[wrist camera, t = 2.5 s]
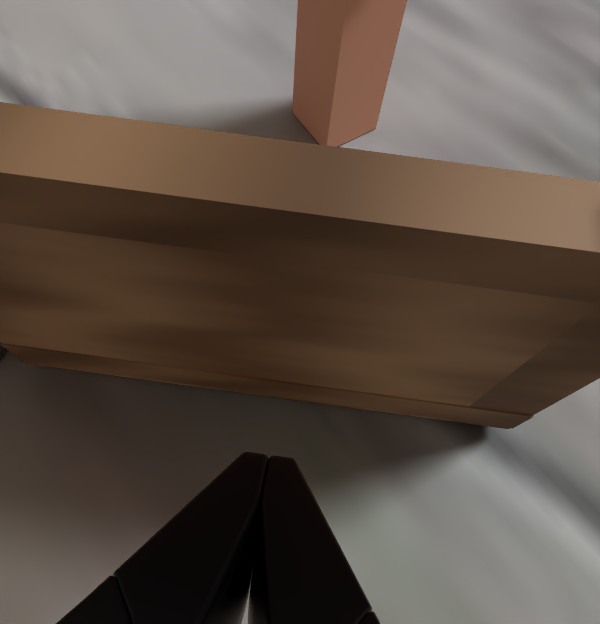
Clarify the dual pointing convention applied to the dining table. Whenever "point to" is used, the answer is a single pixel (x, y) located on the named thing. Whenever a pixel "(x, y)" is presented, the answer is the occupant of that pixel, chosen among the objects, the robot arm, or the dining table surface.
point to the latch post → (343, 65)
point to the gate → (295, 268)
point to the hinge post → (2, 351)
